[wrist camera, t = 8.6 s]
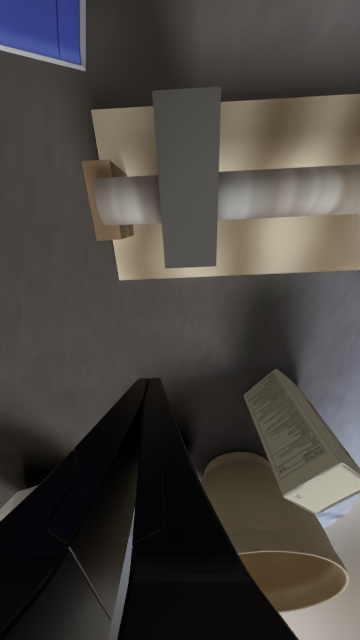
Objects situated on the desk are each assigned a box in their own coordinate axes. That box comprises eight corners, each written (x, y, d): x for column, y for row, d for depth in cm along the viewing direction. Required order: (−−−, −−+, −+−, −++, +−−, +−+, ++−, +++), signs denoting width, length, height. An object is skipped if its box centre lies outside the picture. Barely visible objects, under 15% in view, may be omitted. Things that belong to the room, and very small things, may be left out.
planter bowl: (244, 413, 26) (283, 533, 16) (316, 470, 30) (380, 589, 21) (156, 471, 31) (145, 589, 21) (230, 512, 35) (248, 624, 26)
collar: (202, 146, 14) (221, 86, 8) (202, 248, 17) (216, 266, 10) (165, 149, 14) (152, 90, 8) (170, 250, 17) (165, 268, 10)
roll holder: (435, 93, 14) (591, 16, 8) (376, 267, 18) (452, 286, 13) (94, 114, 14) (44, 52, 9) (121, 278, 19) (98, 300, 14)
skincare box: (266, 411, 26) (313, 518, 16) (241, 393, 24) (277, 497, 15) (302, 386, 24) (377, 489, 15) (277, 365, 23) (342, 463, 14)
